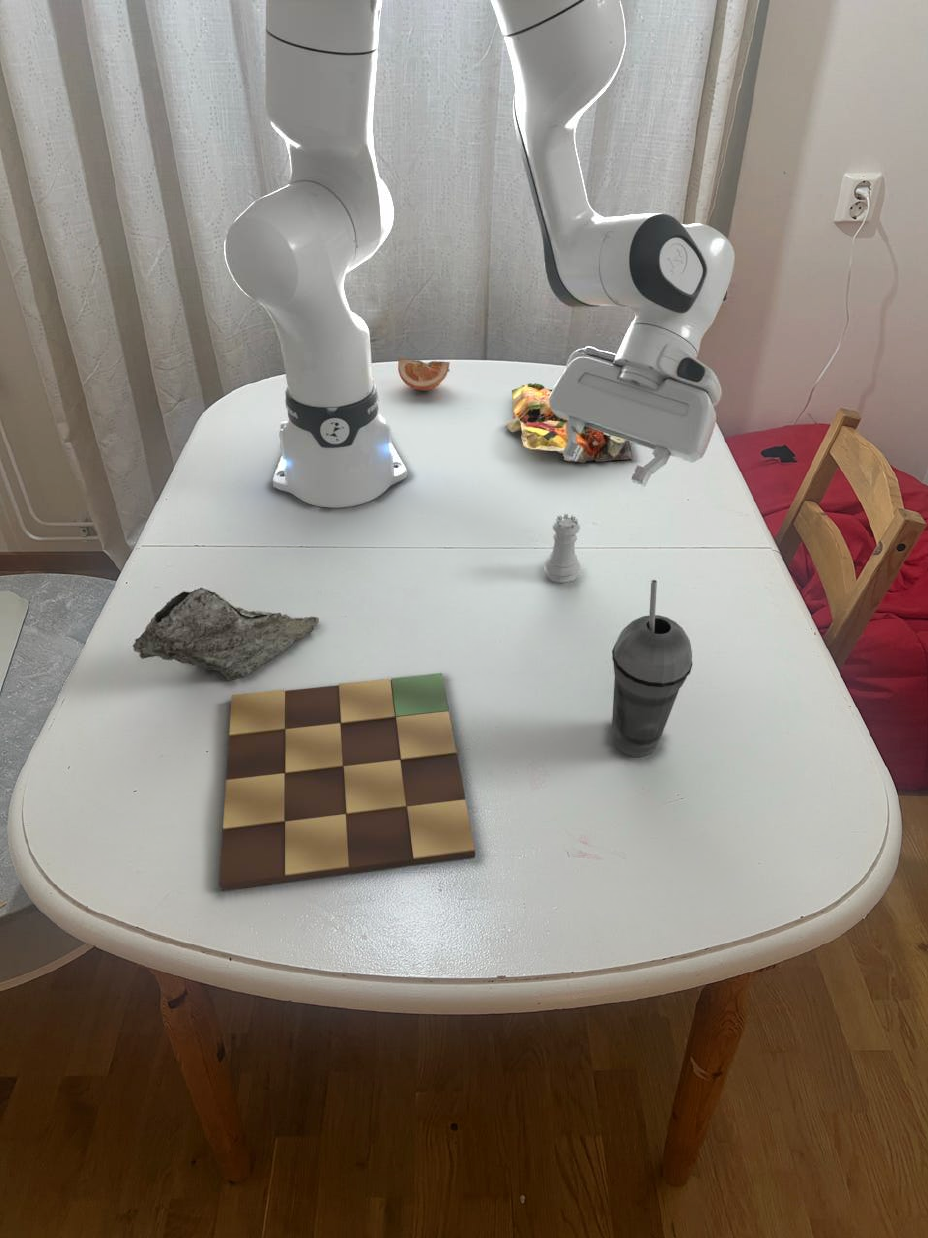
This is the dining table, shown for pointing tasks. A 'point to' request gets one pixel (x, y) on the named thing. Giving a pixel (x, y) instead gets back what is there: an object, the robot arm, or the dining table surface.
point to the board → (341, 782)
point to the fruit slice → (422, 373)
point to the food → (559, 428)
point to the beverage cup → (647, 679)
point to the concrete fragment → (219, 634)
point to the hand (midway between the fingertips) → (602, 470)
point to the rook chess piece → (563, 551)
